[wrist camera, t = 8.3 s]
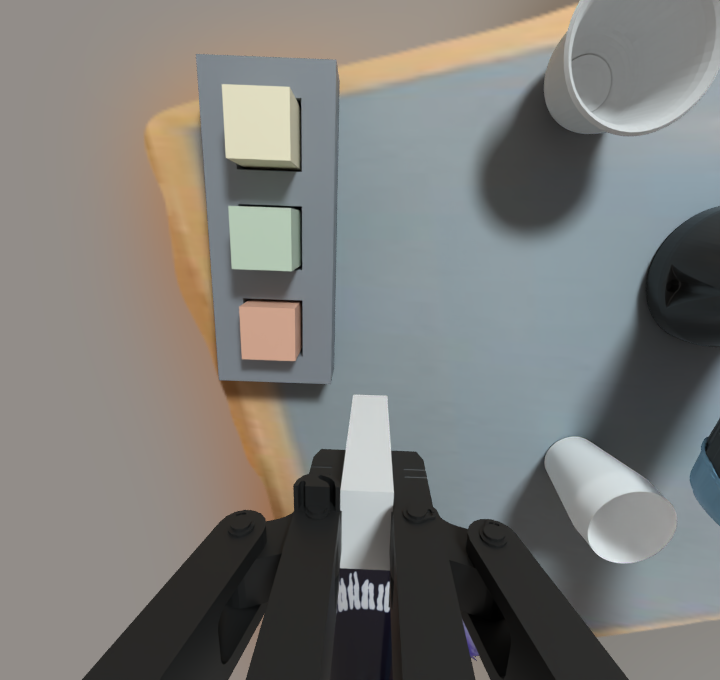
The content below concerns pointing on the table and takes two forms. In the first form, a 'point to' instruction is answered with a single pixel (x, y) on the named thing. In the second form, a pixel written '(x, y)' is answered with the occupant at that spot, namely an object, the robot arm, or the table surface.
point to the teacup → (632, 64)
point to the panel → (274, 189)
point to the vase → (362, 626)
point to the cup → (609, 502)
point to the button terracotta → (271, 329)
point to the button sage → (265, 238)
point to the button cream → (262, 127)
